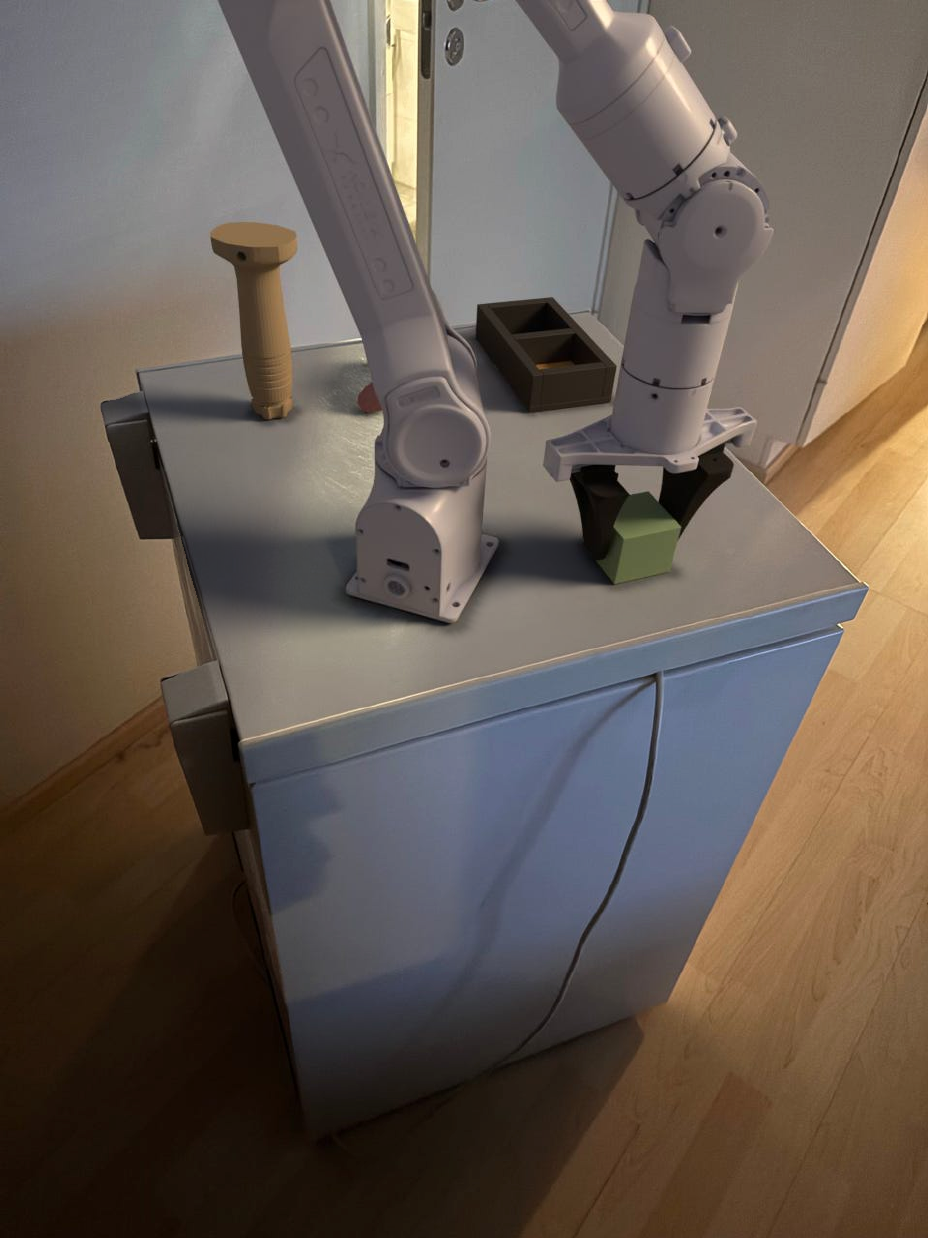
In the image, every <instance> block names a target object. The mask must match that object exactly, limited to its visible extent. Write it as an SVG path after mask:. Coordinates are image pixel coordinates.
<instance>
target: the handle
mask: <svg viewBox="0 0 928 1238" xmlns="http://www.w3.org/2000/svg"><path fill="white" fill-rule="evenodd" d="M209 236H210V244H211V250H212V252H213V254H215V255H216V256H217V257H220V258H222V259H223V260H225V261H227V262H228V263H230V264H231V265H232V266H233V269H234V273H235V278H236V279H235V280H236V290H237V301H238V302H237V303H238V315H239V331H240V332H239V333H240V345H241V347H240V348H241V355H242V364H243V369H244V373H245V378H246V382H247V386H248V390H249V393H250V395H251V397H252V398H251V404H252V408H253V411H254V413H255V414H258V415H260V416H261V417H262V419H264V420H272V419H278V418H279V419H280V418H281V419H284V418H286V417H287V416H288V413H289V412H291V411H292V409H293V396H292V390H293V357H292V348H291V340H290V333H289V328H288V321H287V315H286V310H285V303H284V297H283V289H282V282H281V281H282V280H281V266H282V265H283V264H286V263H287V262H289V261H290V260H292V259H293V258H294V257H295V255H296V254H297V252H298V238H297V233H296V231H294V230H292V229H290V228H287V227H284V226H280V225H277V224H272V223H271V224H270V223H263V222H256V221H239V222H237V221H235V222H225V223H222V224H220V225H218V226H216V227H214V228H213V229H212V230H211V231H210V233H209Z"/></svg>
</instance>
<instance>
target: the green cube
mask: <svg viewBox="0 0 928 1238" xmlns="http://www.w3.org/2000/svg"><path fill="white" fill-rule="evenodd" d="M658 501H659V500H657V499H656V498H655V497H654V495H653V494H652V493H651V492H650V491H642V492H637V493H632V494H630V496H629V497H628V498H627V500H626V501H625V503H624V504H623V506H622V508H621V510H620V512H619V514H618V516H617V519H616V521H615V524H614V527H613V531H612V536H611V541H610V545H609V549H608V552H607V555H606V557H605V559H603V560H598V561H596V563H597V564H598V565H599V566H600V568H601V570H602V571H603V572H604V574H606V576H607V577H608V578H609V579H610V581H611V582H612V584H613V585H618V584H623V583H626V582H631V581H635V580H640V579H643V578H644V579H645V578H649V577H653V576H656V575H657V576H658V575H661V574H666V573H669V572H670V571H671V568H672V563H673V560H674V556H675V553H676V549H677V544H678V542H679V540H678V537H679V533H680V529H681V526H680V525H679V524H678V523H677V522H676V521H675V520H674V519H673V518H672V516H671V515H670V514H669V513H668V512H667V511H666V510H665V509H664V508H663V507H662V505H661V504H660V503H659V502H658Z"/></svg>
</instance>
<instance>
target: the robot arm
mask: <svg viewBox="0 0 928 1238" xmlns="http://www.w3.org/2000/svg"><path fill="white" fill-rule="evenodd" d="M217 2H218V4H219V8H220V9H221V11H222V12H221V13H222V15H223V17H224V18H225V21H226V23H227V26H228V28H229V30H230V33H231V35H232V38H233V40H234V43H235V44H236V47H237V49H238V52H239V54H240V57H241V59H242V61H243V63H244V65H245V67H246V70H247V72H248V75H249V77H250V81H251V82H252V85H253V87H254V89H255V92H256V93H257V97H258V99H259V101H260V103H261V105H262V107H263V108H262V109H263V110H264V112H265V115H266V117H267V119H268V121H269V125H270V127H271V129H272V131H273V133H274V137H275V138H276V141H277V143H278V145H279V148H280V151H281V153H282V155H283V157H284V159H285V162H286V164H287V166H288V169H289V171H290V174H291V176H292V178H293V180H294V183H295V185H296V188H297V190H298V192H299V195H300V197H301V200H302V202H303V204H304V206H305V209H306V211H307V214H308V216H309V218H310V220H311V223H312V225H313V228H314V230H315V232H316V235H317V238H318V239H319V241H320V243H321V246H322V248H323V251H324V253H325V255H326V258H327V260H328V262H329V265H330V267H331V270H332V272H333V274H334V276H335V279H336V281H337V284H338V286H339V288H340V291H341V293H342V295H343V298H344V300H345V303H346V305H347V307H348V310H349V312H350V314H351V317H352V319H353V321H354V323H355V326H356V328H357V330H358V333H359V335H360V338H361V341H362V345H363V350H364V353H365V357H366V362H367V366H368V370H369V375H370V379H371V382H372V383H373V387H374V390H375V394H376V396H377V398H378V401H379V403H380V405H381V408H382V410H381V412H382V415H383V424H382V425H383V427H382V428H381V432H380V434H379V435H377V436H376V438H375V440H374V447H373V448H374V477H373V484H372V487H371V490H370V493H369V496H368V497H367V500H366V501H365V503H364V505H363V506H362V508H361V509H360V511H359V512H358V514H357V517H356V519H355V525H354V526H355V527H354V535H355V536H354V537H355V554H356V555H355V557H356V571H355V572H354V574H353V575H352V577H351V579H350V580H349V581H348V582H347V584H346V586H345V592H346V594H347V595H348V596H351V597H355V598H359V599H361V600H366V601H370V602H372V603H376V604H380V605H383V606H387V607H390V608H395V609H398V610H401V611H405V612H409V613H412V614H416V615H420V616H423V617H426V618H430V619H434V620H437V621H440V622H443V623H448V624H454V623H456V622H457V621H458V620H459V618H460V617H461V615H462V613H463V612H464V609H465V607H466V605H467V603H468V602H469V600H470V597H471V596H472V594H473V592H474V591H475V589H476V586H477V585H478V584H479V581H480V579H481V578H482V576H483V574H484V572H485V570H487V567H488V565H489V563H490V561H492V558H493V556H494V554H495V553H496V551H497V549H498V547H499V541H500V540H499V539H498V538H497V537H495V536H491V535H488V534H484V533H483V524H484V523H483V522H484V509H485V508H484V507H485V493H486V479H487V469H488V468H487V467H488V454H489V452H490V448H491V445H492V443H491V442H492V434H491V427H490V424H489V421H488V419H487V417H486V414H485V412H484V408H483V402H482V398H481V397H482V396H481V393H480V388H479V387H480V386H479V382H478V381H479V380H478V366H477V365H478V364H477V359H476V355H475V353H474V351H473V349H472V347H471V345H470V344H469V343H468V342H467V339H465V338H464V337H463V336H462V335H461V334H459V333H458V332H457V331H456V330H455V329H454V328H453V327H452V326H451V324H450V322H449V321H448V319H447V316H446V315H445V312H444V309H443V307H442V304H441V302H440V299H439V298H438V296H437V295H436V292H435V291H434V289H433V287H432V285H431V282H430V279H429V276H428V274H427V270H426V268H425V266H424V263H423V260H422V257H421V253H420V251H419V248H418V245H417V243H416V239H415V237H414V234H413V231H412V228H411V225H410V223H409V220H408V217H407V214H406V211H405V208H404V206H403V202H402V200H401V196H400V194H399V191H398V188H397V185H396V183H395V180H394V177H393V175H392V171H391V169H390V166H389V163H388V160H387V158H386V154H385V152H384V148H383V146H382V144H381V140H380V137H379V135H378V132H377V129H376V126H375V123H374V121H373V118H372V115H371V111H370V109H369V107H368V104H367V100H366V98H365V95H364V92H363V90H362V86H361V84H360V81H359V78H358V75H357V73H356V70H355V67H354V64H353V61H352V58H351V56H350V53H349V49H348V47H347V44H346V41H345V38H344V36H343V33H342V29H341V26H340V24H339V22H338V21H339V20H338V19H337V16H336V13H335V10H334V7H333V4H332V2H331V0H217ZM515 2H516V3H517V5H518V6H519V7H520V9H521V10H522V11H523V13H524V14H525V15H526V17H527V19H528V20H529V21H530V22H531V24H532V25H533V26H534V28H535V29H536V30H537V31H538V33H539V34H540V36H541V37H542V38H543V41H545V42H546V44H547V45H548V47H549V48H550V49H551V51H552V52H553V53H554V55H555V56H556V58H557V60H558V61H557V62H558V76H557V83H556V84H557V85H556V92H555V106H556V107H555V108H556V110H557V112H558V113H559V114H560V115H561V117H562V118H563V119H564V121H565V122H566V124H568V126H569V128H570V130H571V131H572V132H573V133H574V134H575V136H576V137H577V139H578V140H579V141H580V142H581V144H582V145H583V147H584V148H585V149H586V150H587V152H588V153H589V155H590V156H591V158H592V159H593V160H594V162H595V163H596V165H597V166H598V167H599V169H600V170H601V171H602V173H603V174H604V176H606V179H608V181H609V183H610V184H611V185H612V186H613V188H614V189H615V191H616V192H617V193H618V195H619V196H620V198H621V199H622V200H623V202H624V203H625V204H626V205H627V206H629V207H630V208H631V209H633V210H634V214H635V215H634V216H635V218H636V222H637V223H638V224H639V225H640V226H643V227H644V228H645V230H646V231H647V233H648V235H649V236H650V238H651V239H650V238H646V239H644V240H643V244H642V250H641V256H640V260H639V267H638V273H637V278H636V281H635V285H634V288H633V292H632V293H633V294H632V298H631V304H630V311H629V316H628V322H627V326H626V333H625V339H624V344H623V350H622V355H621V361H620V365H619V371H618V372H619V373H618V379H617V384H616V389H615V395H614V401H613V406H612V412H611V414H610V415H608V416H606V417H604V418H601V419H600V420H598V421H594V422H593V423H590V424H589V425H586V426H584V427H582V428H580V429H578V430H575V431H573V432H571V433H569V434H567V435H563V436H559V437H556V438H551V439H547V440H546V441H545V447H544V455H543V463H542V466H543V467H544V469H545V470H546V472H547V473H548V474H549V476H550V477H551V478H552V479H553V480H554V482H556V483H559V482H564V481H565V482H566V481H569V482H570V484H571V487H572V490H573V493H574V496H575V500H576V504H577V507H578V512H579V518H580V524H581V534H582V546H583V547H584V548H585V550H586V551H587V553H589V555H590V556H591V557H592V559H593V560H594V561H595V562H597V561H598V560H603V559H605V557H606V555H607V552H608V549H609V545H610V541H611V536H612V531H613V527H614V524H615V521H616V519H617V516H618V514H619V512H620V510H621V508H622V506H623V504H624V503H625V501H626V500H627V498H628V497H629V496H630V495H631V494H630V492H628V490H627V489H626V488H625V487H624V486H623V485H622V484H621V483H620V481H619V472H616V467H617V466H629V467H631V466H636V467H637V466H638V467H662V480H661V488H660V492H659V498H658V500H657V501H658V502H659V503H660V504H661V505H662V507H663V508H664V509H665V510H666V511H667V512H668V513H669V514H670V515H671V516H672V518H673V519H674V520H675V521H676V522H677V523H678V524H679V525H680V526H681V529H680V533H679V537H678V541H679V540H680V538H681V537H682V535H683V533H685V530H686V529H687V528H688V525H689V524H690V523H691V521H692V519H693V518H694V516H695V514H696V513H697V512H698V510H699V509H700V508H701V506H702V505H703V503H705V502H706V500H707V499H708V498H709V497H710V496H711V495H712V494H713V493H714V492H715V491H716V490H717V489H718V488H719V487H720V486H721V485H723V484H724V483H725V482H727V481H728V480H730V479H731V476H732V473H733V470H734V466H735V464H734V462H733V461H732V459H731V458H730V457H729V456H727V454H725V448H726V445H730V444H731V445H733V447H735V448H738V449H739V448H746V447H750V446H751V443H752V440H753V437H754V434H755V430H756V427H757V425H758V420H757V419H755V417H753V416H752V415H751V414H750V413H749V412H748V411H746V410H745V409H744V408H743V407H741V406H738V407H737V406H736V407H729V408H708V406H709V402H710V397H711V393H712V390H713V386H714V382H715V379H716V376H717V371H718V367H719V365H720V360H721V356H722V352H723V347H724V344H725V341H726V337H727V333H728V328H729V325H730V321H731V317H732V313H733V310H734V309H733V308H734V305H735V300H736V299H735V298H736V295H737V292H738V286H739V283H740V281H741V279H742V278H743V276H744V275H745V274H746V273H747V272H748V271H749V270H751V268H753V266H755V265H756V263H757V262H759V260H760V259H761V258H762V256H763V255H764V253H765V252H766V250H767V248H768V247H769V246H770V242H771V241H772V237H773V235H774V231H775V230H774V228H772V227H770V224H769V220H770V216H769V214H768V211H767V210H770V201H769V197H768V194H767V191H766V189H765V188H764V185H763V183H762V182H761V181H760V180H759V179H758V177H756V175H754V173H752V172H751V170H749V169H748V168H747V167H746V166H745V165H744V164H743V163H742V162H741V161H740V160H739V159H738V158H737V157H736V156H735V155H734V154H733V153H732V152H731V144H732V143H733V142H734V141H735V140H736V139H737V138H738V131H737V130H736V129H735V127H734V125H733V124H732V122H731V121H730V119H729V118H728V117H726V116H725V115H720V116H718V117H717V118H716V116H715V114H714V113H713V111H712V110H711V107H710V106H709V104H708V103H707V101H706V99H705V98H704V97H703V94H702V93H701V92H700V89H699V88H698V87H697V85H696V83H695V81H694V80H693V79H692V77H691V75H690V74H689V72H688V70H687V68H686V67H685V65H684V64H683V63H684V62H685V61H686V60H687V59H688V58H689V57H690V56H691V55H692V48H690V46H689V43H687V41H686V39H685V38H684V37H685V36H683V34H682V33H681V31H680V30H678V29H677V28H676V27H674V26H673V25H669V26H667V27H666V28H665V29H664V30H663V29H662V28H661V26H660V25H659V23H658V22H657V20H656V18H655V17H654V16H652V14H649V13H644V12H621V11H615V10H613V9H612V8H611V6H610V5H609V3H608V0H515Z"/></svg>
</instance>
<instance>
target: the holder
mask: <svg viewBox="0 0 928 1238" xmlns="http://www.w3.org/2000/svg"><path fill="white" fill-rule="evenodd" d="M474 336H475V337H474V339H475V340H476V342H477V344H479V346H480V347H481V349H482V350H483V351H484V353H485V355H486V356H487V357H488V359H489V360H490V361H491V362H492V364H493V365H494V366H495V369H497V371H498V372H499V373H500V375H501V376H502V378H503V379H504V380H505V382H506V383H507V384H508V386H509V387H510V389H511V390H512V391H513V393H514V394H515V396H516V397H517V398H518V399H519V401H520V403H521V405H523V406H524V408H525V409H526V411H527V412H528V413H530V414H531V413H538V412H545V411H546V412H547V411H552V410H561V409H569V408H577V407H584V406H592V405H599V404H607V403H611V401H612V396H613V390H614V385H615V380H616V379H615V378H616V374H617V368H618V366H617V364H616V363H615V362H614V361H613V360H612V359H611V358H610V357H609V356H608V355H607V353H606V352H605V351H604V350H603V349H602V348H601V347H600V346H599V345H598V344H597V343H596V342H595V340H593V338H591V336H590V335H588V333H587V332H586V331H585V330H584V329H583V328H582V327H581V326H580V324H579V323H577V321H575V319H574V318H573V317H572V316H571V315H570V314H569V313H568V312H567V310H566V309H564V308H563V306H561V304H560V303H559V302H558V301H557V300H556V299H555V298H554V297H553V296H551V297H549V296H548V297H540V298H528V299H527V298H526V299H519V300H508V301H497V302H496V301H495V302H487V303H478V304H476V321H475V335H474Z"/></svg>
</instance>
